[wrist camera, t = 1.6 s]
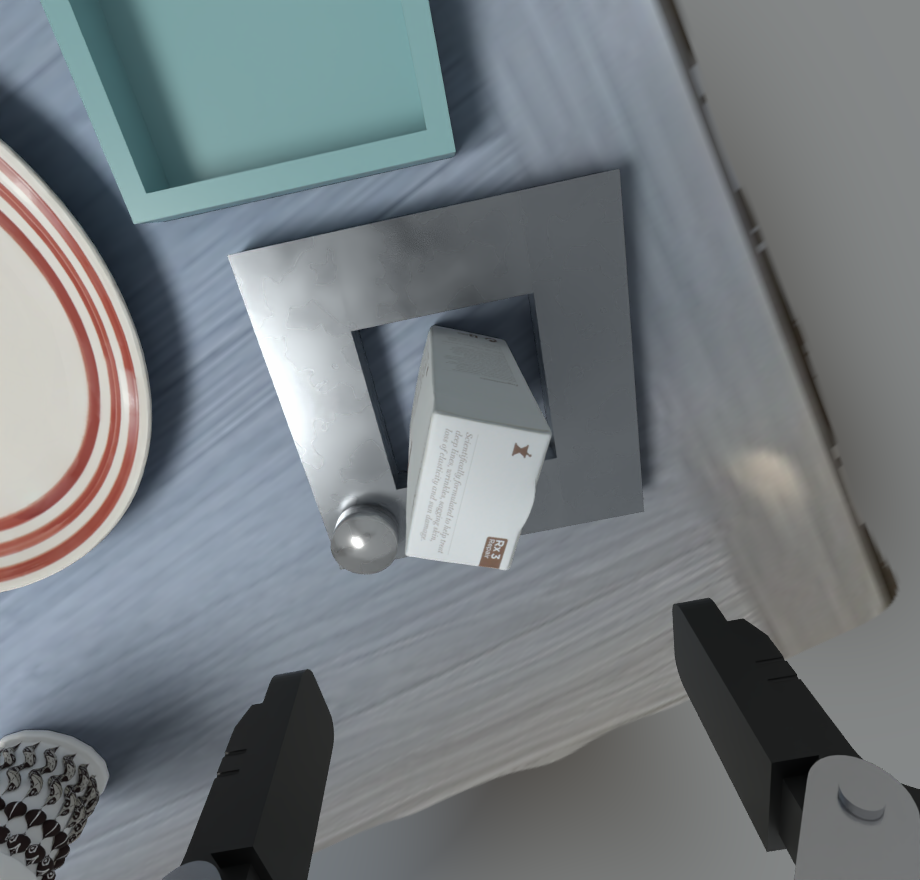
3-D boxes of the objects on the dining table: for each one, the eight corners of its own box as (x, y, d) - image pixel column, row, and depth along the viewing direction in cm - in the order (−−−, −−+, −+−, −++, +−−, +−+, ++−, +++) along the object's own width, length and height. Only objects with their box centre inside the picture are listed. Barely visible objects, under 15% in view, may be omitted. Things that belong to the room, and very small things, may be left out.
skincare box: (428, 322, 28) (423, 401, 17) (511, 339, 29) (558, 426, 18) (408, 429, 31) (392, 558, 20) (484, 442, 31) (512, 576, 20)
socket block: (345, 549, 34) (336, 587, 30) (241, 251, 26) (214, 258, 23) (632, 494, 33) (654, 526, 30) (606, 171, 26) (631, 167, 22)
